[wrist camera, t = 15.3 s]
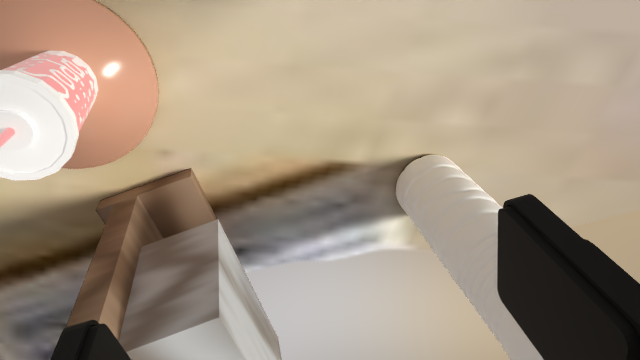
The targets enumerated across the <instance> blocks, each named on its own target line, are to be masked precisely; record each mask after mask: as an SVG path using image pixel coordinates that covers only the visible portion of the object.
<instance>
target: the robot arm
mask: <svg viewBox="0 0 640 360" xmlns="http://www.w3.org/2000/svg"><path fill="white" fill-rule="evenodd" d="M497 290H498V294H499V297H500V299H501V301H502V303H503V304H504V306H505V307H506V308H507V310H508V311H509V313H510V314H511V315H512V317H513V318H514V319H515V321H516V322H517V324H518V325H519V326H520V328H521V329H522V330H523V332H524V333H525V334H526V336H527V337H528V339H529V340H530V341H531V343H532V344H533V345H534V347H535V348H536V350H537V351H538V352H539V354H540V355H541V356H542V358H543V359H544V360H640V284H639V283H638V282H637V281H636V280H634V279H633V278H632V277H631V276H630V275H629V274H628V273H626V272H625V271H624V270H623V269H622V268H621V267H620V266H618V265H617V264H616V263H615V262H614V261H612V260H611V259H610V258H609V257H608V256H607V255H606V254H604V253H603V252H602V251H601V250H600V249H599V248H598V247H596V246H595V245H594V244H593V243H591V242H590V241H588V240H585V239H583V238H581V237H580V236H579V235H578V234H577V233H576V232H575V231H573V230H572V229H571V228H570V227H569V226H568V225H567V224H566V223H564V222H563V221H562V220H561V219H560V218H559V217H558V216H556V215H555V214H554V213H553V212H552V211H551V210H550V209H548V208H547V207H546V206H545V205H544V204H543V203H542V202H541V201H539V200H538V199H537V198H536V197H535V196H533V195H531V194H528V195H524V196H521V197H517V198H514V199H510V200H507V201H505V203H504V206H503V208H502V209H499V211H498V253H497ZM51 360H131V359H130V357H129V356H128V354H127V353H126V351H125V350H124V349H123V347H122V346H121V344H120V343H119V342H118V340H117V339H116V337H115V336H114V334H113V333H112V332H111V330H110V329H109V327H108V326H107V325H106V324H104V323H103V324H99V323H98V322H97V321H96V320H89V321H86V322H82V323H79V324H75V325H72V326H68V327H66V328H65V329H64V330H63V332H62V333H61V336H60V338H59V341H58V343H57V346H56V348H55V350H54V353H53V355H52V358H51Z"/></svg>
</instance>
